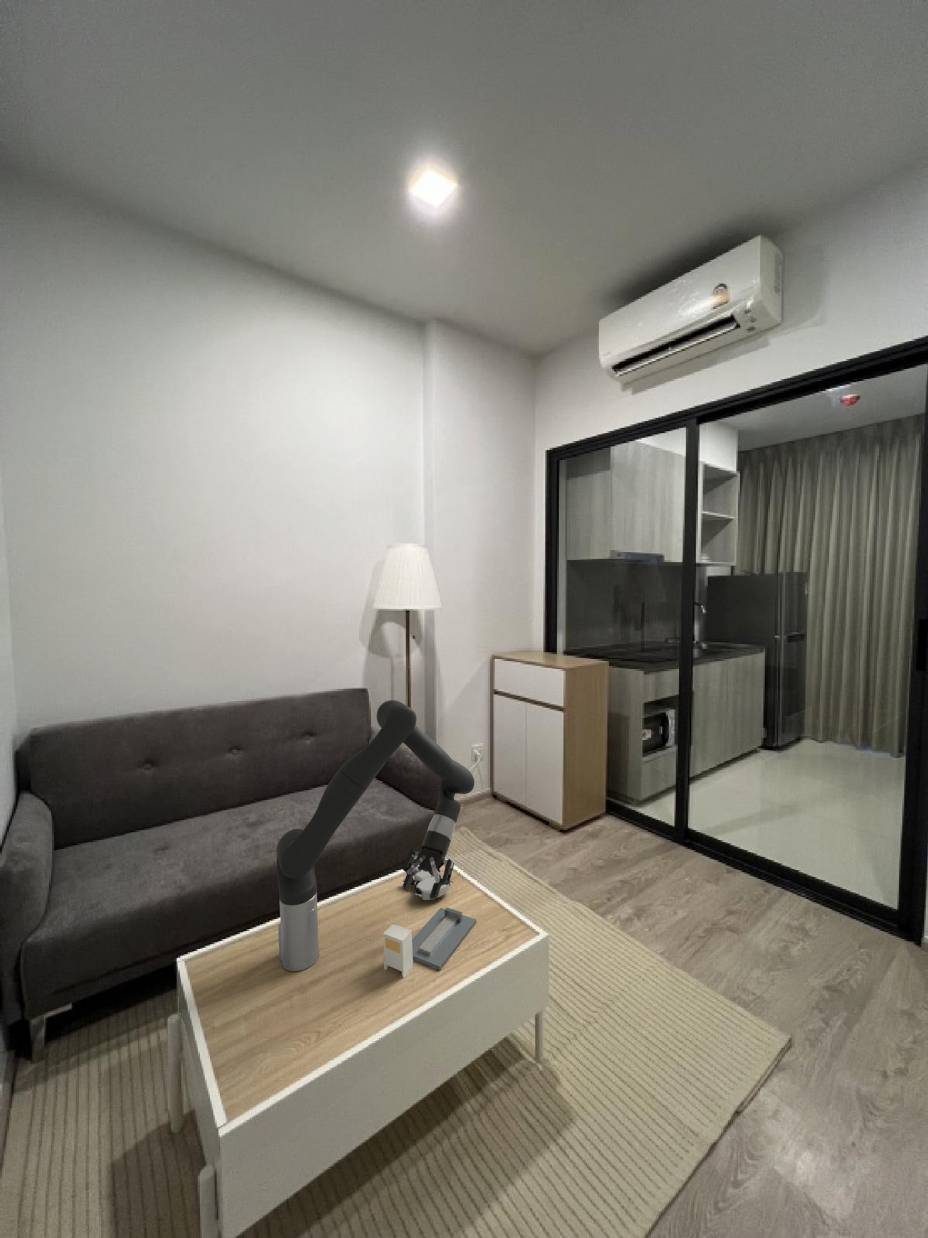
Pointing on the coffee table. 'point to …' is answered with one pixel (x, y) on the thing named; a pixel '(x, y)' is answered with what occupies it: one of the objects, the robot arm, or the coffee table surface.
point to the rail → (441, 931)
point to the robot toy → (427, 885)
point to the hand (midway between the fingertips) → (418, 894)
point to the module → (398, 949)
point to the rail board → (447, 945)
